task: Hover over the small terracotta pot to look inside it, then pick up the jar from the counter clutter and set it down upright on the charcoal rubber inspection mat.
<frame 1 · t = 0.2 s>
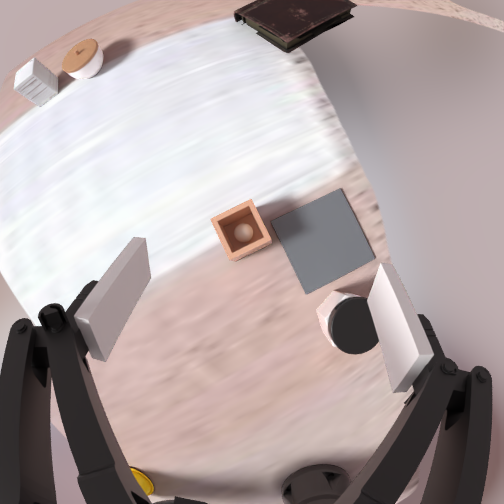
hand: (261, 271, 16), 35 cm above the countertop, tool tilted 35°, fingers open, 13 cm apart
jar: (339, 314, 50), on the countertop
mat: (324, 240, 51), on the countertop
ball: (243, 232, 50), point 2 cm above the countertop, touching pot
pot: (244, 234, 52), on the countertop
lidded jar: (92, 69, 57), on the countertop
supplement box: (49, 92, 58), on the countertop
stacking cups: (135, 480, 51), on the countertop
diary: (297, 17, 55), on the countertop
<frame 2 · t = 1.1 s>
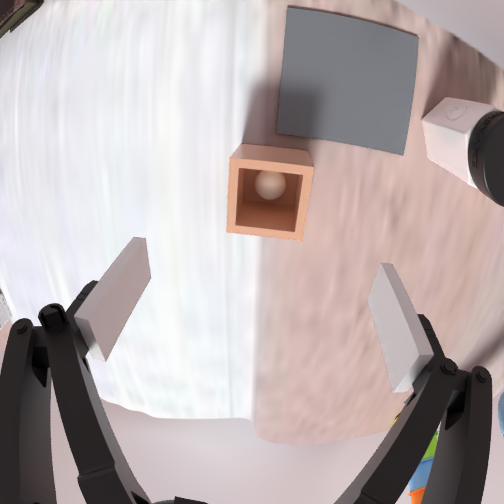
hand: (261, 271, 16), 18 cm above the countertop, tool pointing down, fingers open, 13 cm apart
jar: (450, 134, 26), on the countertop
mat: (350, 79, 25), on the countertop
ball: (270, 184, 29), point 2 cm above the countertop, touching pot
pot: (271, 177, 31), on the countertop
supplement box: (0, 300, 51), on the countertop
stacking cups: (413, 414, 55), on the countertop
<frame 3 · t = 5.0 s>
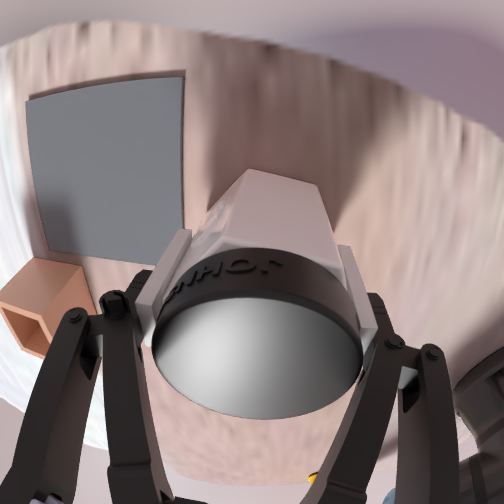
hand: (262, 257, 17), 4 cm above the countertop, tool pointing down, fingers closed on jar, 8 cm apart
jar: (269, 226, 21), on the countertop, touching gripper
mat: (96, 177, 19), on the countertop
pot: (64, 289, 26), on the countertop
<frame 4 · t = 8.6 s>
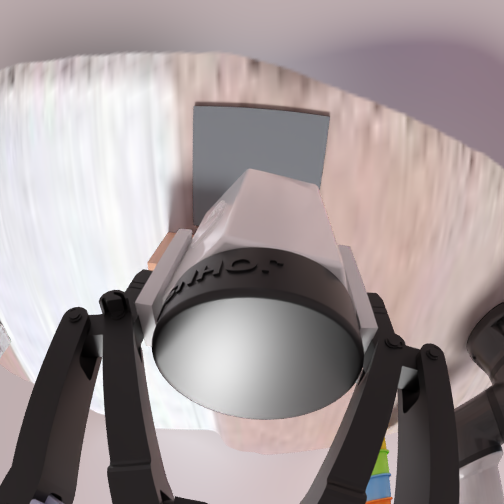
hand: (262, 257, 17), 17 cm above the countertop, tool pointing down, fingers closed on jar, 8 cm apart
jar: (269, 226, 21), point 13 cm above the countertop, touching gripper
mat: (256, 171, 31), on the countertop
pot: (195, 258, 38), on the countertop
supplement box: (0, 328, 57), on the countertop
stacking cups: (367, 432, 62), on the countertop
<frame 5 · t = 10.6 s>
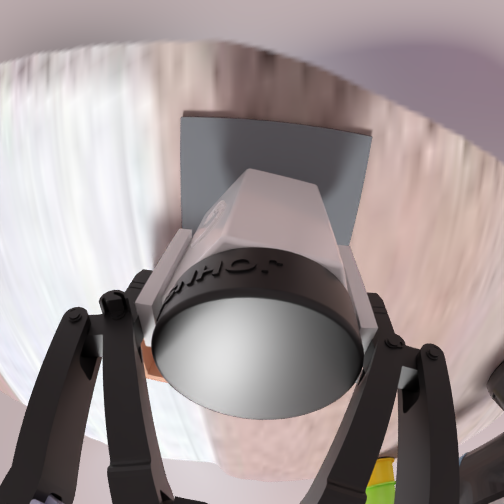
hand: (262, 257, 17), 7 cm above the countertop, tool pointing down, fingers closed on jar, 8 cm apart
jar: (269, 226, 21), point 3 cm above the countertop, touching gripper
mat: (268, 209, 23), on the countertop
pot: (189, 311, 30), on the countertop
stacking cups: (374, 462, 55), on the countertop
when the fingers open (4 cm above the countertop, at t = 12.3 s): jar stays where it is, resting on mat.
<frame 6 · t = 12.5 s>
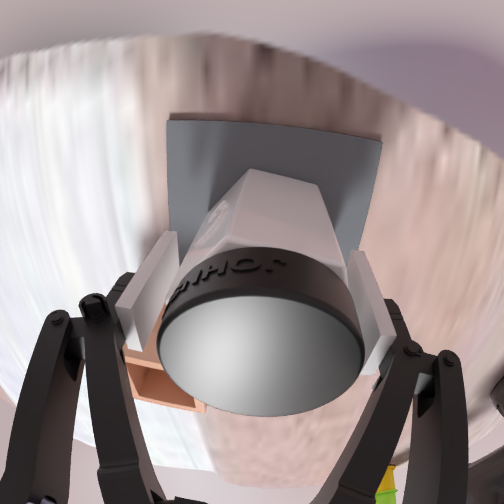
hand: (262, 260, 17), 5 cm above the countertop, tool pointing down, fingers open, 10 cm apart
jar: (270, 226, 21), resting on mat
mat: (265, 223, 21), on the countertop
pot: (181, 328, 28), on the countertop
stacking cups: (375, 470, 53), on the countertop
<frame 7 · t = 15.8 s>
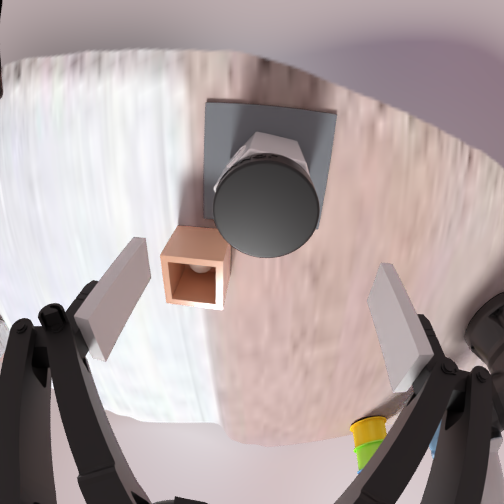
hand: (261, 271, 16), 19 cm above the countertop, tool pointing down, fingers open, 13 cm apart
jar: (268, 168, 32), resting on mat
mat: (266, 166, 32), on the countertop
ball: (201, 260, 37), point 2 cm above the countertop, touching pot
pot: (204, 251, 39), on the countertop
supplement box: (2, 325, 58), on the countertop
stacking cups: (368, 422, 65), on the countertop
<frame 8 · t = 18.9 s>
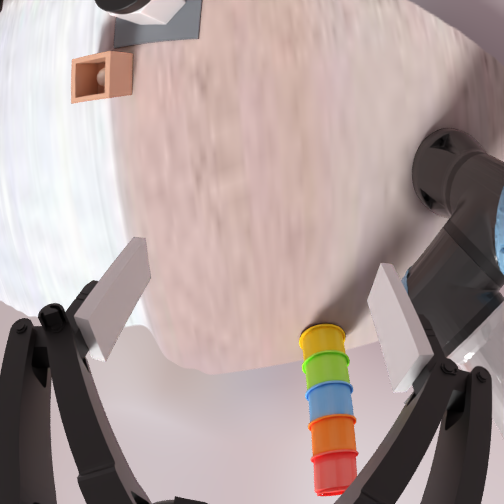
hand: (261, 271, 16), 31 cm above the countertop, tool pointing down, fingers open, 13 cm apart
jar: (159, 3, 30), resting on mat
mat: (157, 3, 30), on the countertop
ball: (106, 76, 35), point 2 cm above the countertop, touching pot
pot: (113, 76, 37), on the countertop
stacking cups: (322, 337, 62), on the countertop
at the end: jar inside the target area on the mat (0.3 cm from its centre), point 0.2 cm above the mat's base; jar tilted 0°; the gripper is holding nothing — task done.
